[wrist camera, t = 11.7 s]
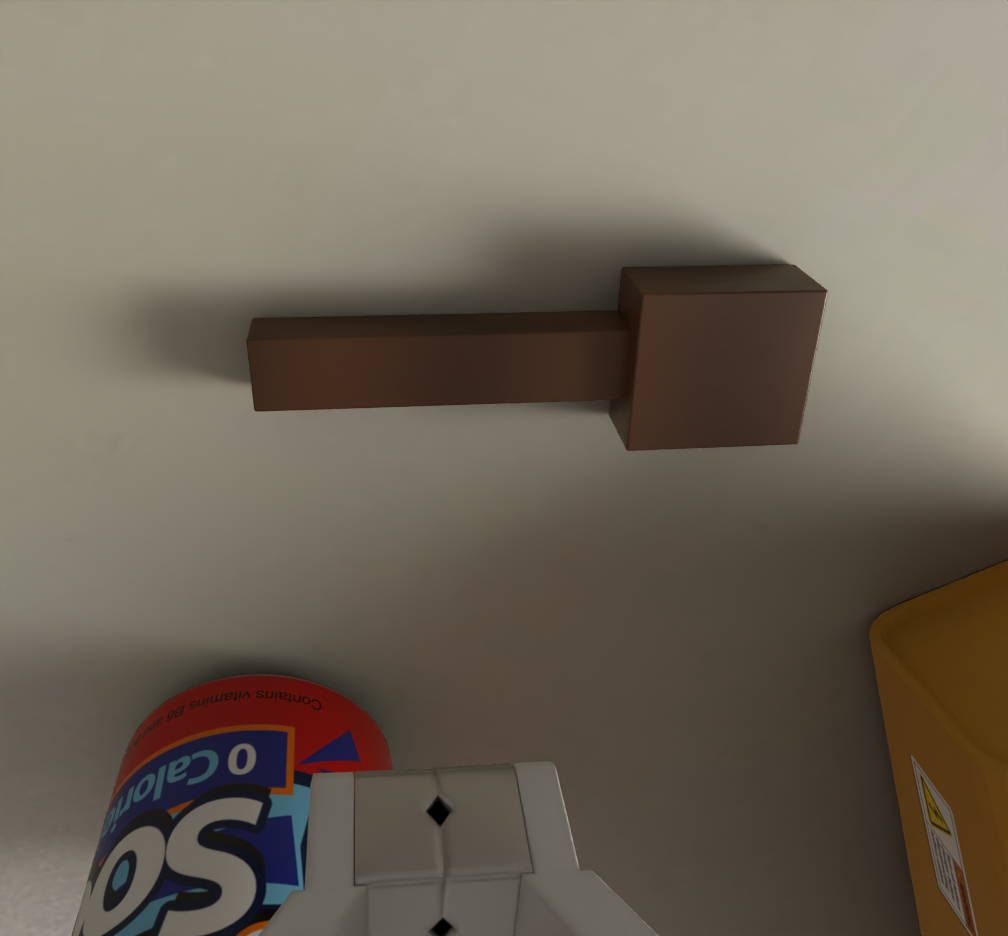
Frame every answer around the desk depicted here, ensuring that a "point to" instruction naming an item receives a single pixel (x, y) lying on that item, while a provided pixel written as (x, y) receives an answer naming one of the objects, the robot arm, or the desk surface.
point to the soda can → (220, 806)
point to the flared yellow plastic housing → (951, 747)
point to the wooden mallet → (577, 357)
